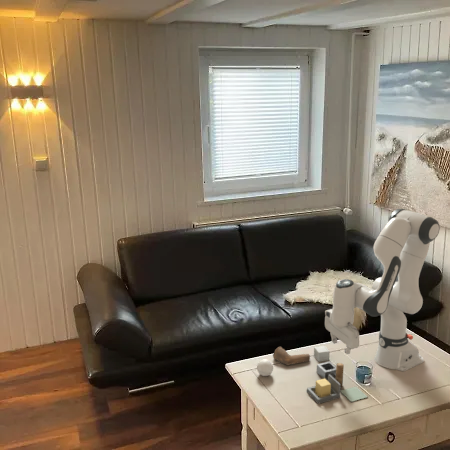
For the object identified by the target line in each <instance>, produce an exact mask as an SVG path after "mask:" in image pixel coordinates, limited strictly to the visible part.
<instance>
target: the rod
mask: <svg viewBox="0 0 450 450" xmlns="http://www.w3.org/2000/svg"><path fill="white" fill-rule="evenodd" d="M335 366H336V378H335V379H336V380H337V381H338V382H339V383H340V384H341V386H340V388H342V387H343V384H344V383H343V382H344V364H343V363H342V362H341V363H340V362H339V363H336V365H335Z"/></svg>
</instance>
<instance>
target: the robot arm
mask: <svg viewBox="0 0 450 450" xmlns="http://www.w3.org/2000/svg"><path fill="white" fill-rule="evenodd" d="M440 229H441V227H440V223H439V221H438V220H437V219H435V218H433V217H431V216H428V215H426V214H424V213H420V212H418V211H416V212H415V211H412V210H407V209H405V208H396V209H395V210H393V211H392V212H391V213H390V215H389V217H388V222H387V223H386V224H385V226H384V227H383V228H382V230H381V231H380V233H379V235H378V236H377V238H376V239H375V241H374V244H373V247H372V248H373V252H374V256H375V258H377V260H378V261H379V262H380V263H381V264H382V267H383V274H382V276H380V277H378V278H376V279H375V280H374V281H373V283H372V285H371V287H369V286H367V285H366V284H363V283H360V282H355V281H354V280H352V279H348V278H345V279H344V278H343V279H340V280H337V281H336V283H335V285H334V287H333V288H334V289H333V293H332V294H333V295H332V304H333V305H332V308H329V309H327V310H325V311H324V315H325V317H324V327H325V329H326V330H327V331H328V332H330V337H331V343H332V344H337V343H338V340H339V341H341V342H342V343H343V344H345V346H346V347H345V349H344V353H345V354H346V355H349V354H351V350H354V349H358V348H359V346H360V331H359V330H358V329H357V326H355V325H353V324H354V318H355V317H354V316H355V308H357V309H359V310H361V311H363V312H365V313H366V314H367V315H369V316H370V317H373V318H374V317H378V316H380V330H379V334H378V345H377V349H376V352H375V355H374V361H375V362H376V364H378V365H379V366H381V367H383V368H387V369H390V370H398V371H400V372H406V371H407V370H410V369H411V368H414V367H416V366H418V365H420V364H422V363H424V362H425V360H424V357H423V356H422V355H421V354H420V351H419V350H420V349H419V347H417V345H416V344H415V343H413V342H412V341H411V340H413V338H414V337H413V335H412V334H408V333H407V325H408V323H407V322H408V320H407V317H406V314H409V315H414V314H416V313H418V312H419V311H420V310H421V308H423V307H422V306H423V303H424V302H423V301H424V299H423V296H422V294H421V291H420V287H419V278H420V275H421V272H422V268H423V265H424V263H425V261H426V258H427V255H428V252H429V249H430V245H431V242H433V241H434V240H435V239H436V238H437V237H438V235H439V233H440ZM404 313H406V314H404Z"/></svg>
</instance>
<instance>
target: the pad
mask: <svg viewBox="0 0 450 450" xmlns="http://www.w3.org/2000/svg"><path fill="white" fill-rule="evenodd" d="M340 394H342V395H343V396H344V397H345V396H346V397H347V398H346V397H345V398H346V399H347V400H349V402H350V403H354V402H357V400H358V401H360V399H361V400H364V398H365V399H368V398H367V397H368V396H367V395H366V394H365V393H364V391H362V390H361V389H360V388H359V387H358V386H352V387H350V388H345V389H340Z"/></svg>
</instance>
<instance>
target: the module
mask: <svg viewBox="0 0 450 450" xmlns="http://www.w3.org/2000/svg"><path fill="white" fill-rule="evenodd" d="M314 386H315V391H314V393H315V394H316V395H317V396H319V398H321V397H324V396H328V395H331V384H330V383H329V382H328V380H326V379H325V378H324V379H323V378H321V379H318V380H315V385H314Z"/></svg>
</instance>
